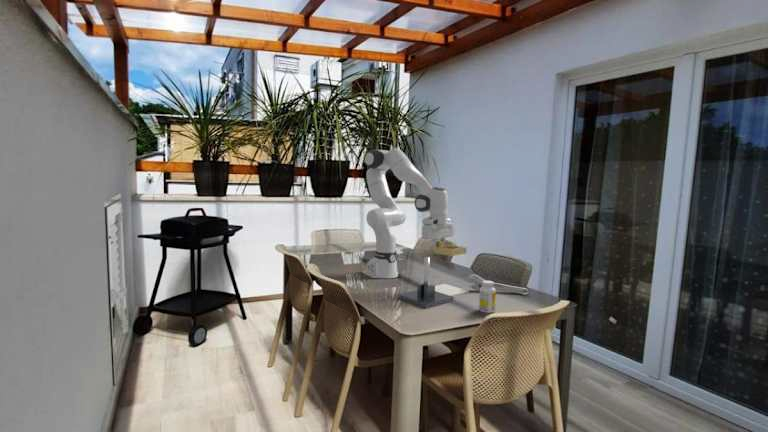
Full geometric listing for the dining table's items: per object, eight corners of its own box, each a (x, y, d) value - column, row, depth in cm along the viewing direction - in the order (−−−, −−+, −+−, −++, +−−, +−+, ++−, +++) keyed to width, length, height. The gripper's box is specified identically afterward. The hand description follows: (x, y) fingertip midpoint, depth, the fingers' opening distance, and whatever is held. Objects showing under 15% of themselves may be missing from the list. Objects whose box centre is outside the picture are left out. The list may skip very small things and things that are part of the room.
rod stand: (398, 298, 196) (399, 256, 194) (425, 292, 207) (426, 252, 205) (426, 308, 182) (427, 263, 180) (453, 300, 194) (454, 258, 192)
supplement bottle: (492, 308, 184) (493, 279, 183) (496, 313, 177) (498, 283, 176) (477, 308, 184) (478, 279, 182) (481, 313, 177) (482, 283, 176)
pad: (422, 290, 210) (422, 288, 210) (444, 285, 221) (444, 283, 221) (446, 298, 198) (446, 296, 198) (468, 292, 208) (468, 290, 208)
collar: (427, 251, 210) (427, 241, 210) (442, 249, 217) (442, 239, 217) (451, 256, 198) (451, 245, 197) (466, 253, 205) (466, 243, 204)
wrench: (527, 300, 206) (465, 289, 212) (526, 299, 208) (465, 288, 214) (529, 285, 205) (468, 273, 211) (529, 284, 207) (468, 273, 213)
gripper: (447, 218, 219) (447, 244, 221) (420, 220, 206) (419, 248, 208) (457, 219, 215) (456, 245, 216) (429, 221, 201) (428, 249, 203)
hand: (438, 246), depth 212 cm, fingers closed on collar, 3 cm apart
